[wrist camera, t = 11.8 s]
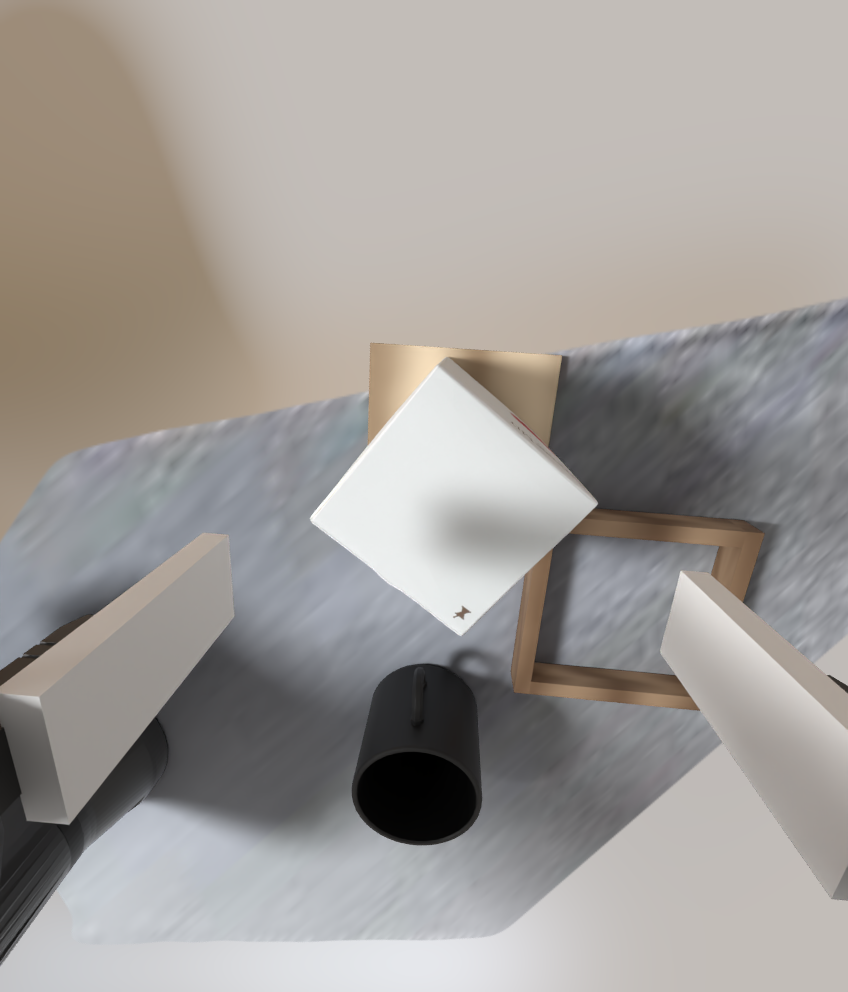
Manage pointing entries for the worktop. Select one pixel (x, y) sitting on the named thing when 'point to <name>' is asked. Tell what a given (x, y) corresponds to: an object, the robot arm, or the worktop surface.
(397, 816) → the mug
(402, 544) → the supplement box
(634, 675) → the walnut frame
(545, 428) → the light wooden block
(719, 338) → the worktop surface
